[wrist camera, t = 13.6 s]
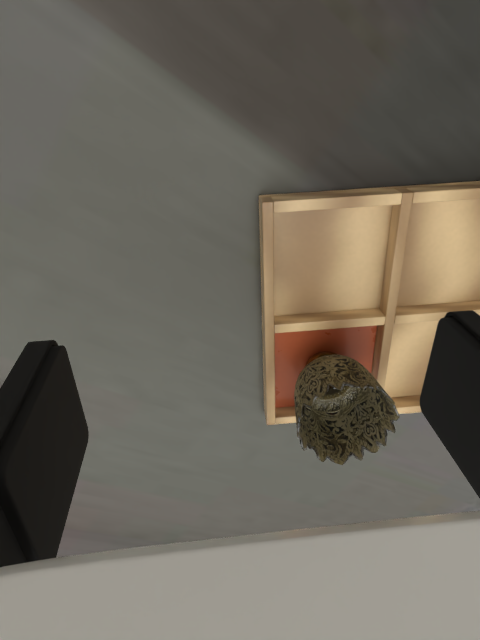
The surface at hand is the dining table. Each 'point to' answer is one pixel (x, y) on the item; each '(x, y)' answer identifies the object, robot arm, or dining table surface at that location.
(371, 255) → the divided tray
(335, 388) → the dark bronze bell shape
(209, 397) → the dining table surface
